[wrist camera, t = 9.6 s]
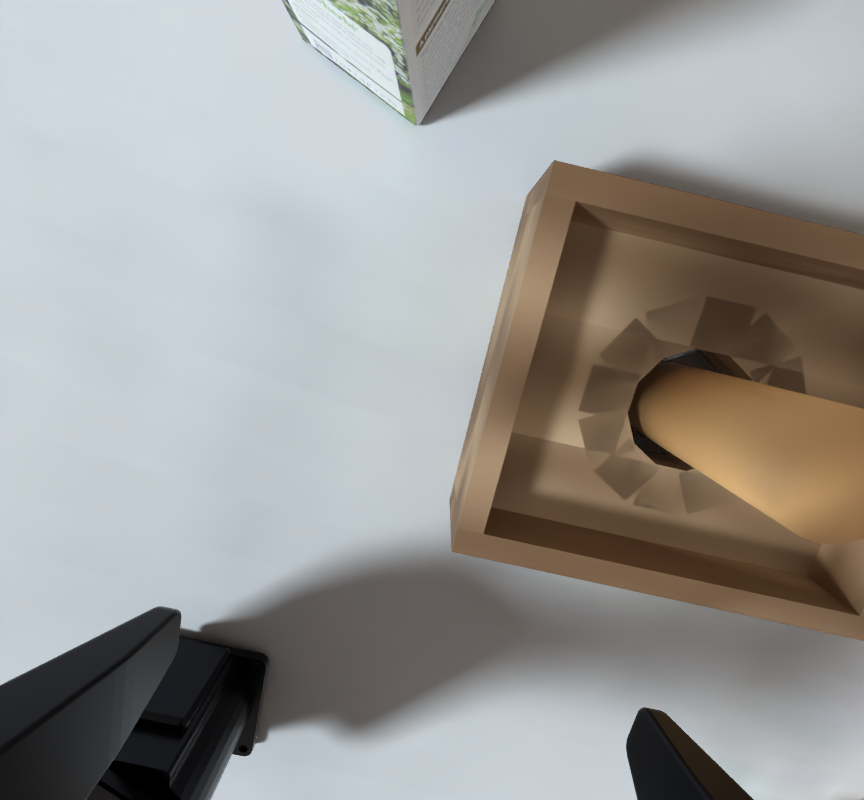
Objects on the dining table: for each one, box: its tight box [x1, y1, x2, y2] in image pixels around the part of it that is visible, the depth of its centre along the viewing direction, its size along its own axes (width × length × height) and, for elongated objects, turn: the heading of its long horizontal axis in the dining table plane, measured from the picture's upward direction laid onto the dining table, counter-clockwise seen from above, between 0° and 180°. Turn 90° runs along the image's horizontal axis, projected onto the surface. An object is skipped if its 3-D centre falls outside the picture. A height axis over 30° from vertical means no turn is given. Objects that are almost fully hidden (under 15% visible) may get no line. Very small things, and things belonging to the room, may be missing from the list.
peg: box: [628, 362, 864, 544], centre depth 15 cm, size 4×4×9 cm
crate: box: [450, 160, 864, 641], centre depth 17 cm, size 14×17×4 cm
